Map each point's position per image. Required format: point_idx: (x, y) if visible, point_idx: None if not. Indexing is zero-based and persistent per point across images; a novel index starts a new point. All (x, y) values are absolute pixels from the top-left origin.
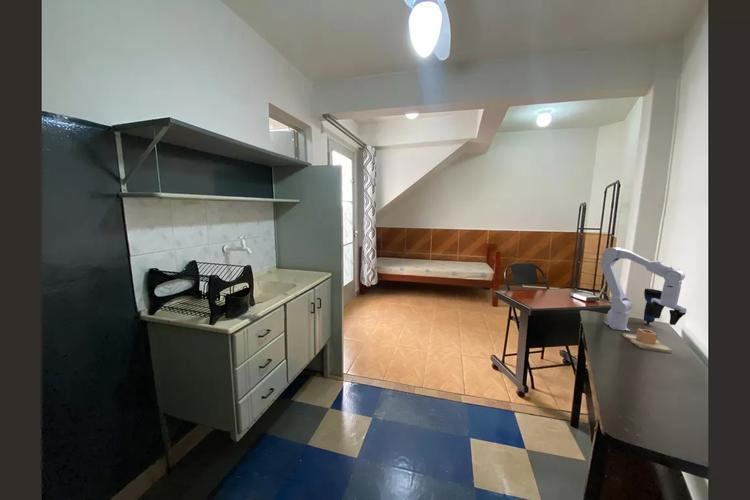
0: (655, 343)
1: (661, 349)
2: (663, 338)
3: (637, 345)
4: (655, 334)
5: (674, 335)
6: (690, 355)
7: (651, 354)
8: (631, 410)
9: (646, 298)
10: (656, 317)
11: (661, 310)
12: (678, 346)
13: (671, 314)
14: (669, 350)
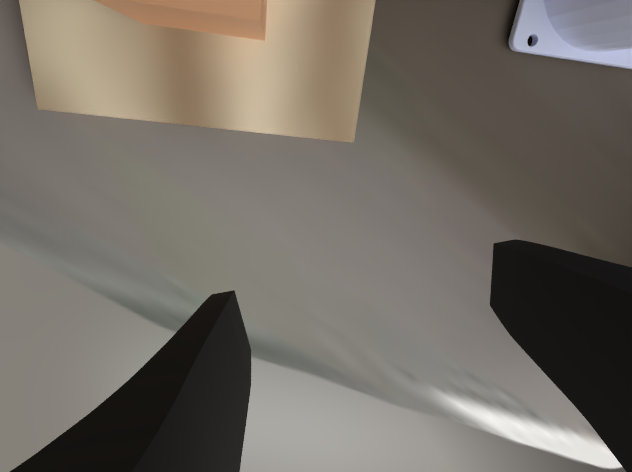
0: (178, 52)
1: (22, 2)
2: (388, 263)
3: None
4: None
5: (453, 373)
6: (86, 245)
7: None
8: None
9: None
10: (502, 269)
11: (618, 446)
12: (252, 273)
13: (93, 462)
14: (34, 82)
